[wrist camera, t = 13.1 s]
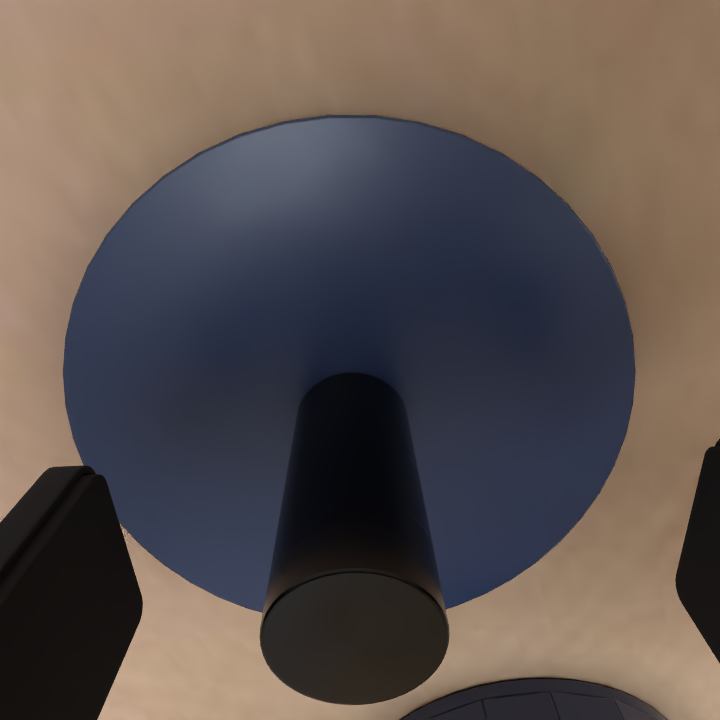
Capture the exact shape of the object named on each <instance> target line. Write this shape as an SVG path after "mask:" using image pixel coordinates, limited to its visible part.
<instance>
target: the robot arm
mask: <svg viewBox="0 0 720 720" xmlns="http://www.w3.org/2000/svg"><path fill="white" fill-rule="evenodd" d="M676 589H677V593H678V596H679V599H680V600H681V602H682V604H683V606H684V607H685V609H686V611H687V612H688V614H689V615H690V617H691V618H692V620H693V622H694V623H695V625H696V626H697V628H698V630H699V631H700V633H701V634H702V636H703V638H704V639H705V641H706V642H707V644H708V645H709V647H710V649H711V650H712V652H713V653H714V655H715V657H716V658H717V660H718V661H719V663H720V439H719V440H718V441H717V442H716V445H715V447H710V448H708V450H707V451H706V453H705V455H704V460H703V464H702V468H701V472H700V476H699V481H698V485H697V489H696V493H695V498H694V502H693V506H692V510H691V514H690V519H689V523H688V527H687V531H686V536H685V540H684V544H683V548H682V552H681V557H680V561H679V565H678V569H677V574H676ZM142 608H143V601H142V595H141V592H140V589H139V586H138V582H137V579H136V576H135V572H134V569H133V566H132V563H131V559H130V556H129V553H128V550H127V546H126V543H125V540H124V537H123V533H122V530H121V527H120V523H119V520H118V517H117V514H116V510H115V507H114V504H113V501H112V497H111V494H110V491H109V488H108V484H107V481H106V479H105V477H104V476H103V475H100V474H96V473H95V471H94V470H93V469H92V468H91V467H90V466H65V467H52V468H49V469H47V470H46V471H45V472H44V473H43V474H42V475H41V476H40V477H39V479H38V480H37V481H36V482H35V483H34V484H33V486H32V487H31V488H30V489H29V490H28V491H27V492H26V494H25V495H24V496H23V497H22V498H21V499H20V501H19V502H18V503H17V504H16V505H15V506H14V507H13V509H12V510H11V511H10V512H9V513H8V514H7V516H6V517H5V518H4V519H3V520H2V521H1V522H0V720H97V719H98V717H99V714H100V712H101V710H102V707H103V705H104V703H105V701H106V698H107V696H108V694H109V691H110V689H111V687H112V684H113V682H114V680H115V678H116V675H117V673H118V671H119V668H120V666H121V664H122V661H123V659H124V657H125V654H126V652H127V650H128V648H129V645H130V643H131V641H132V638H133V636H134V634H135V631H136V629H137V627H138V624H139V622H140V619H141V615H142Z"/></svg>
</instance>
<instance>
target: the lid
mask: <svg viewBox="0 0 720 720" xmlns="http://www.w3.org/2000/svg"><path fill="white" fill-rule="evenodd" d="M63 380H64V392H65V404H66V410H67V414H68V418H69V423H70V427H71V431H72V435H73V439H74V442H75V445H76V447H77V450H78V452H79V455H80V457H81V460H82V463H83V465H84V466H90V467H91V468H92V469H93V470H94V471H95V473H96V474H100V475H103V476H104V477H105V479H106V481H107V484H108V488H109V491H110V494H111V497H112V501H113V504H114V507H115V510H116V514H117V517H118V520H119V523H120V524H121V525H122V526H123V527H124V528H125V529H126V530H127V531H128V532H129V533H130V534H131V535H132V537H133V538H134V539H135V540H136V541H137V542H138V543H139V544H140V545H141V546H142V547H143V548H145V549H146V550H147V551H148V552H149V553H151V554H152V555H153V556H154V557H155V558H156V559H158V560H159V561H160V562H161V563H162V564H164V565H165V566H166V567H168V568H169V569H171V570H172V571H174V572H175V573H177V574H178V575H180V576H181V577H183V578H184V579H186V580H187V581H189V582H190V583H192V584H194V585H196V586H198V587H200V588H202V589H204V590H206V591H208V592H210V593H212V594H213V595H215V596H217V597H220V598H222V599H225V600H227V601H230V602H232V603H235V604H237V605H240V606H242V607H245V608H248V609H251V610H255V611H258V612H262V613H263V615H262V621H261V627H260V646H261V649H262V653H263V656H264V658H265V660H266V663H267V665H268V666H269V667H270V669H271V670H272V672H273V673H274V674H275V675H276V676H277V677H278V678H279V679H280V680H281V681H282V682H283V683H285V684H286V685H287V686H289V687H290V688H292V689H293V690H295V691H297V692H299V693H301V694H303V695H305V696H307V697H310V698H313V699H316V700H320V701H323V702H328V703H334V704H343V705H363V704H372V703H378V702H383V701H386V700H390V699H393V698H396V697H398V696H401V695H403V694H406V693H407V692H409V691H411V690H413V689H415V688H416V687H418V686H419V685H421V684H422V683H423V682H425V681H426V680H427V679H428V678H429V677H430V676H431V675H432V674H433V673H434V672H435V671H436V670H437V668H438V667H439V665H440V664H441V662H442V660H443V658H444V656H445V654H446V651H447V647H448V643H449V624H448V619H447V614H446V609H448V608H451V607H455V606H458V605H460V604H462V603H465V602H467V601H469V600H472V599H474V598H477V597H479V596H481V595H484V594H486V593H488V592H489V591H491V590H493V589H495V588H497V587H499V586H500V585H502V584H504V583H506V582H508V581H510V580H511V579H513V578H514V577H516V576H517V575H519V574H520V573H522V572H523V571H524V570H526V569H527V568H529V567H530V566H532V565H533V564H535V563H536V562H537V561H539V560H540V559H541V558H542V557H543V556H544V555H545V554H547V553H548V552H549V551H550V550H551V549H552V548H553V547H555V546H556V545H557V544H558V543H559V542H560V541H561V540H562V539H563V538H564V537H565V536H566V535H567V534H568V533H569V531H570V530H571V529H572V528H573V527H574V526H575V525H576V524H577V523H578V522H579V521H580V519H581V518H582V517H583V515H584V514H585V513H586V511H587V510H588V508H589V507H590V506H591V504H592V503H593V501H594V500H595V499H596V497H597V496H598V494H599V493H600V491H601V489H602V487H603V486H604V484H605V482H606V480H607V478H608V476H609V474H610V473H611V471H612V469H613V467H614V465H615V462H616V460H617V457H618V454H619V452H620V449H621V446H622V444H623V441H624V439H625V436H626V432H627V427H628V423H629V419H630V414H631V410H632V405H633V396H634V383H635V357H634V342H633V333H632V329H631V324H630V320H629V316H628V311H627V307H626V302H625V299H624V297H623V294H622V292H621V289H620V287H619V284H618V282H617V279H616V276H615V274H614V271H613V269H612V267H611V265H610V263H609V262H608V260H607V258H606V256H605V255H604V253H603V251H602V250H601V248H600V246H599V244H598V243H597V241H596V239H595V238H594V236H593V234H592V233H591V232H590V231H589V229H588V228H587V227H586V226H585V225H584V223H583V222H582V221H581V220H580V218H579V217H578V216H577V215H576V214H575V212H574V211H573V210H572V209H571V207H570V206H569V205H568V204H567V203H566V202H565V201H564V200H563V199H562V198H560V197H559V196H558V195H557V194H556V193H555V192H554V191H553V190H552V189H550V188H549V187H548V186H547V185H546V184H545V183H544V182H543V181H542V180H541V179H539V178H538V177H537V176H536V175H534V174H533V173H531V172H530V171H528V170H526V169H525V168H523V167H522V166H520V165H519V164H517V163H516V162H514V161H513V160H511V159H510V158H508V157H507V156H505V155H504V154H502V153H500V152H498V151H496V150H494V149H492V148H490V147H487V146H485V145H483V144H481V143H479V142H477V141H475V140H472V139H470V138H468V137H466V136H464V135H461V134H458V133H455V132H451V131H448V130H445V129H441V128H438V127H435V126H431V125H428V124H425V123H421V122H416V121H409V120H403V119H396V118H389V117H383V116H376V115H326V116H319V117H311V118H304V119H297V120H290V121H283V122H280V123H276V124H273V125H269V126H266V127H262V128H259V129H255V130H252V131H249V132H245V133H242V134H239V135H237V136H234V137H232V138H230V139H228V140H226V141H223V142H221V143H219V144H217V145H215V146H212V147H210V148H208V149H206V150H204V151H202V152H199V153H198V154H196V155H195V156H193V157H192V158H190V159H189V160H187V161H186V162H184V163H182V164H181V165H179V166H178V167H176V168H175V169H173V170H172V171H170V172H169V173H167V174H166V175H164V176H163V177H162V178H160V179H159V180H158V181H157V182H156V183H155V184H154V185H153V186H151V187H150V188H149V189H148V190H147V191H146V192H145V193H144V194H142V195H141V196H140V197H139V198H138V199H137V200H136V201H135V202H133V203H132V205H131V206H130V207H129V208H128V209H127V211H126V212H125V213H124V214H123V215H122V217H121V218H120V219H119V220H118V221H117V223H116V224H115V225H114V226H113V228H112V229H111V230H110V231H109V232H108V234H107V235H106V237H105V238H104V240H103V242H102V243H101V245H100V247H99V248H98V250H97V252H96V253H95V255H94V257H93V258H92V260H91V262H90V264H89V265H88V267H87V269H86V272H85V274H84V277H83V279H82V282H81V284H80V287H79V289H78V292H77V294H76V297H75V299H74V302H73V306H72V310H71V315H70V319H69V323H68V328H67V332H66V337H65V350H64V365H63Z"/></svg>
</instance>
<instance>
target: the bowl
mask: <svg viewBox="0 0 720 720" xmlns="http://www.w3.org/2000/svg"><path fill="white" fill-rule="evenodd" d="M402 720H667V719H666V718H664V717H663V716H662V715H661V714H660V713H658V712H657V711H656V710H655V709H654V708H652V707H651V706H649V705H647V704H646V703H644V702H642V701H641V700H639V699H637V698H635V697H633V696H630V695H628V694H626V693H623V692H621V691H619V690H615V689H612V688H608V687H605V686H601V685H598V684H592V683H586V682H581V681H574V680H561V679H525V680H515V681H505V682H499V683H494V684H489V685H484V686H479V687H475V688H472V689H468V690H465V691H461V692H458V693H455V694H452V695H450V696H447V697H445V698H442V699H439V700H437V701H434V702H432V703H430V704H428V705H426V706H424V707H422V708H421V709H419V710H417V711H415V712H413V713H412V714H410V715H408V716H407V717H405V718H404V719H402Z"/></svg>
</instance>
